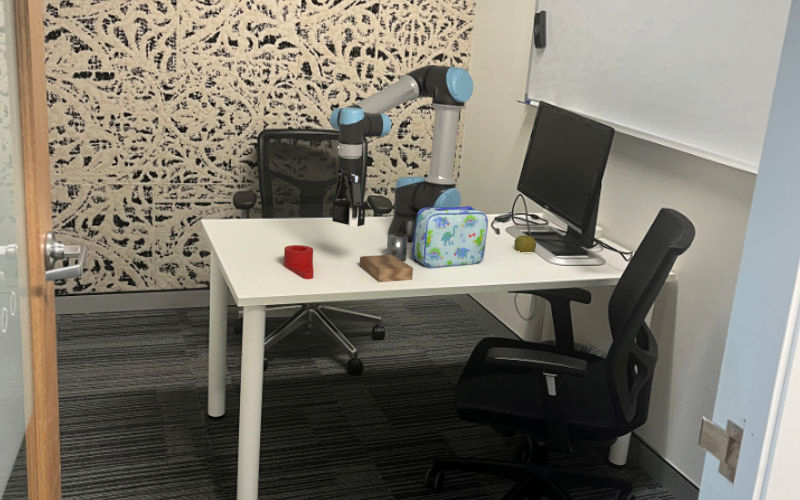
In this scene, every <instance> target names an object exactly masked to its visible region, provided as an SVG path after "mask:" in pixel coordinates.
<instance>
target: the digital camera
mask: <svg viewBox="0 0 800 500" xmlns="http://www.w3.org/2000/svg"><path fill="white" fill-rule="evenodd" d="M361 204H362V206H361V207H359V208H358V224H357V227H356V228H358V227H361V226H365V223H366V221H365V219H366V204H364V203H361ZM350 205H351V203H350V200H347V199H345V200H337V199H336V200H333V202H332V219H331V221H332V222H335V223H338V224H343V225H346V226H349V210H350V208H349V206H350Z"/></svg>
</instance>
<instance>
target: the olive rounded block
mask: <svg viewBox="0 0 800 500" xmlns="http://www.w3.org/2000/svg"><path fill="white" fill-rule="evenodd" d="M536 248H537V242H536V239H535V238H534V236H530V235H526V234H525V235H523V234H522V235H519V236H517V237H516V238H515V240H514V249H515V251H516V250H517V251H516V252H518V251H520V252H519V253H521V252H533V251H534V252H535V250H536ZM534 252H533V253H534Z"/></svg>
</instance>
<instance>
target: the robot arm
mask: <svg viewBox="0 0 800 500" xmlns="http://www.w3.org/2000/svg"><path fill="white" fill-rule="evenodd" d="M473 92H474V82H473V78H472V76H471V75H470V72H469V71H467V69H465V68H463V67H462V68H461V67H458V66H457V67H456V66H447V65H437V64H436V65H435V64H430V65H429V64H428V65H423V66H420V67H418V68H416V69H413V70H411V71H408V73H405V74H403V75H401V77H399V79H398V81H396V82H394V83H392V84H390V85H389V86H387V87H385V88H383V89H381V90H378V91H377V92H374V94H371V95H369V96H367V97H366V98H364V99H362V100H360V101H358V102H356V103H354V104H351V105H350V106H347V107H337V108H335V109H333V110H332V112H331V113H330V116H329V124H330V125H331V127H332V128H333V130H337V131H339V132H338V146H337V148H336V149H338V155H339V156H338V157H337V168H338V169H337V179H336V184H335V188H334V193H333V194H334V196H335V198H336V200H347V198H346V197H347V196H346V193H348V197H349V201H350V203H351V205H350V206H349V208H350V210H349V225H348V227H349V228H358V227H357V224H358V208H359V207H361V206H362V204H363V203H362V194H361V193H362V192H361V176H360V175H357V171H360V170H361V168H362V158H361V157H362V155H363V138H374V137H377V138H380V137H384V136H385V137H386V136H387V135H388V134H389V133H390V132H391V130H392V121H391V118H390V117H389V115H388V114H386V113H388V112H390V111H391V110H392V109H394V108H396V107H398V106H401V104H404V103H406V102H407V101H415V100H418V99H421V98H431V99H432V100H431V105H432V107H433V108H434V109H435V111H434V121H433V124H434V125H433V129H432V130H433V131H432V141H431V142H432V143H431V149H430V151H431V153H430V161H429V172H428V175H427V176H404V177H399V178H398V179H396V183H395V188H394V189H395V190H394V206H393V207H394V208H393V217H392V220H391V222H390V224H389V226H388V229H387V236H388V235H391V234H400V235H405V236H407V237H408V241H407V242H413V237H414V230H415V225H416V218H417V214H418V212H419V210H420V209H422V208H428V207H461V202H462V194H461V192H460V190H458V189H457V188H456V185H457V181H456V180H455V179H454V178H453V176H454V165H455V156H456V145H457V138H458V128H459V121H460V120H459V118H460V111H462V110H463V108H464V107H465V103H467V102H468V101H469V100H470V99H471V97H472V95H473ZM347 191H348V192H347Z"/></svg>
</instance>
